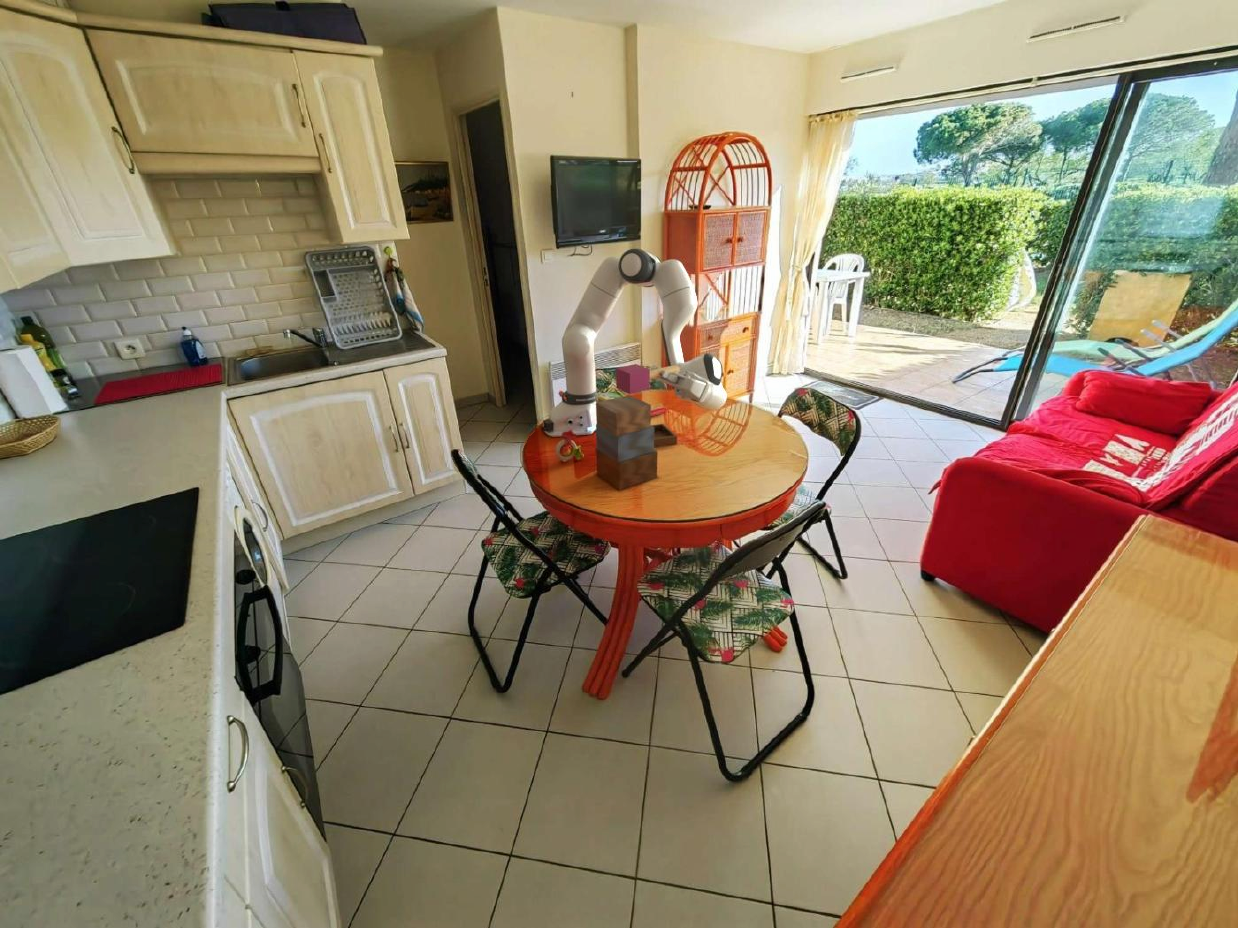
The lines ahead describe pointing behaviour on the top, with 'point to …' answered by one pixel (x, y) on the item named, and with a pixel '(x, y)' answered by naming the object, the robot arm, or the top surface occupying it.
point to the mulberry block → (639, 377)
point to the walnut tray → (663, 436)
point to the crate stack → (625, 442)
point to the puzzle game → (609, 396)
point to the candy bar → (658, 410)
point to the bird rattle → (564, 449)
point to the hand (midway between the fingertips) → (658, 371)
